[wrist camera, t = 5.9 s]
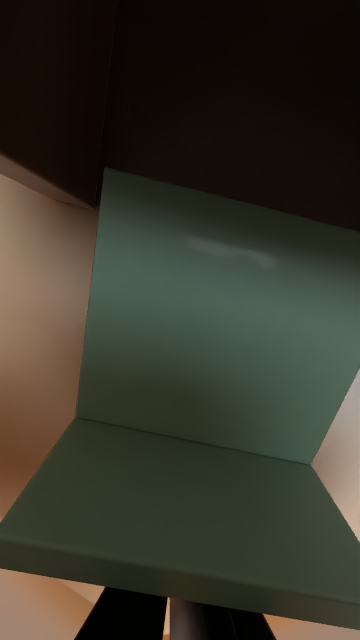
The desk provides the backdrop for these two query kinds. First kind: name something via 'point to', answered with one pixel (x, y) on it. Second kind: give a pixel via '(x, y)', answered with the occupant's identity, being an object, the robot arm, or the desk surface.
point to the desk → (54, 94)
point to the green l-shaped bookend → (204, 411)
